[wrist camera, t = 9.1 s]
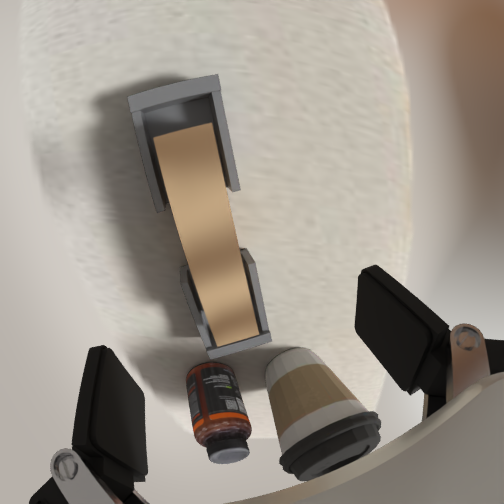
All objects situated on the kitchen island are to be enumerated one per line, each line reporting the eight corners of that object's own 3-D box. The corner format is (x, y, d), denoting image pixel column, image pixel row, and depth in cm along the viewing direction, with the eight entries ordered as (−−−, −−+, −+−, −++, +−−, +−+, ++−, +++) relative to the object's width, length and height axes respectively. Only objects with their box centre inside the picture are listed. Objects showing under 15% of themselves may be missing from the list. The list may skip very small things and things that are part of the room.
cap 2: (262, 320, 28) (271, 341, 25) (205, 337, 27) (210, 359, 24) (246, 248, 25) (256, 264, 22) (179, 267, 24) (180, 286, 21)
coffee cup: (258, 403, 35) (292, 491, 21) (238, 354, 30) (279, 470, 16) (330, 374, 36) (380, 452, 23) (328, 320, 31) (400, 413, 18)
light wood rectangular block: (159, 138, 18) (153, 137, 14) (204, 126, 19) (211, 122, 14) (209, 311, 25) (217, 346, 21) (244, 301, 26) (259, 334, 21)
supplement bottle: (190, 393, 31) (202, 470, 20) (181, 363, 28) (192, 450, 18) (235, 387, 32) (259, 461, 22) (233, 356, 29) (259, 439, 19)
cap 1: (135, 103, 17) (127, 96, 14) (212, 83, 18) (218, 74, 15) (159, 203, 21) (156, 214, 18) (232, 183, 22) (241, 191, 19)
